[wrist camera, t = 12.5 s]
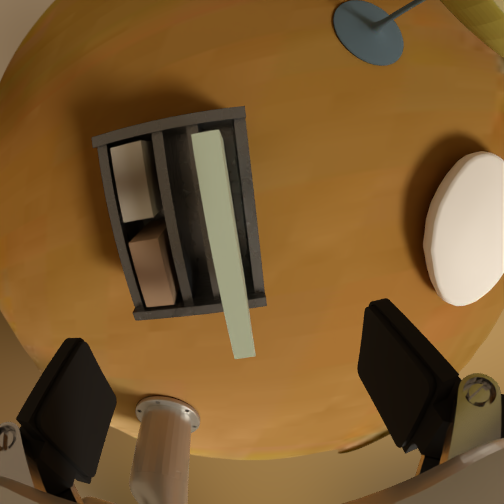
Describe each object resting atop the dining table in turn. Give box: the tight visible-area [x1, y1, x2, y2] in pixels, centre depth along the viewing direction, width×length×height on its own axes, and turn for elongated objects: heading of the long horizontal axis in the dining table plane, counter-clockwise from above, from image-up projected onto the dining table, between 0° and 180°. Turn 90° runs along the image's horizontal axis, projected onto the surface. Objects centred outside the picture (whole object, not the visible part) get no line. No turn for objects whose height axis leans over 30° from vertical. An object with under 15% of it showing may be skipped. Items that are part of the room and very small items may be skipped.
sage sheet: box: [191, 130, 256, 359], centre depth 24 cm, size 14×1×18 cm, turn 8°
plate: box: [423, 151, 504, 306], centre depth 35 cm, size 28×6×27 cm
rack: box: [92, 106, 267, 320], centre depth 29 cm, size 19×14×9 cm
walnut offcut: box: [129, 219, 180, 307], centre depth 30 cm, size 7×3×8 cm, turn 6°
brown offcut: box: [110, 141, 163, 222], centre depth 27 cm, size 7×3×8 cm, turn 6°
